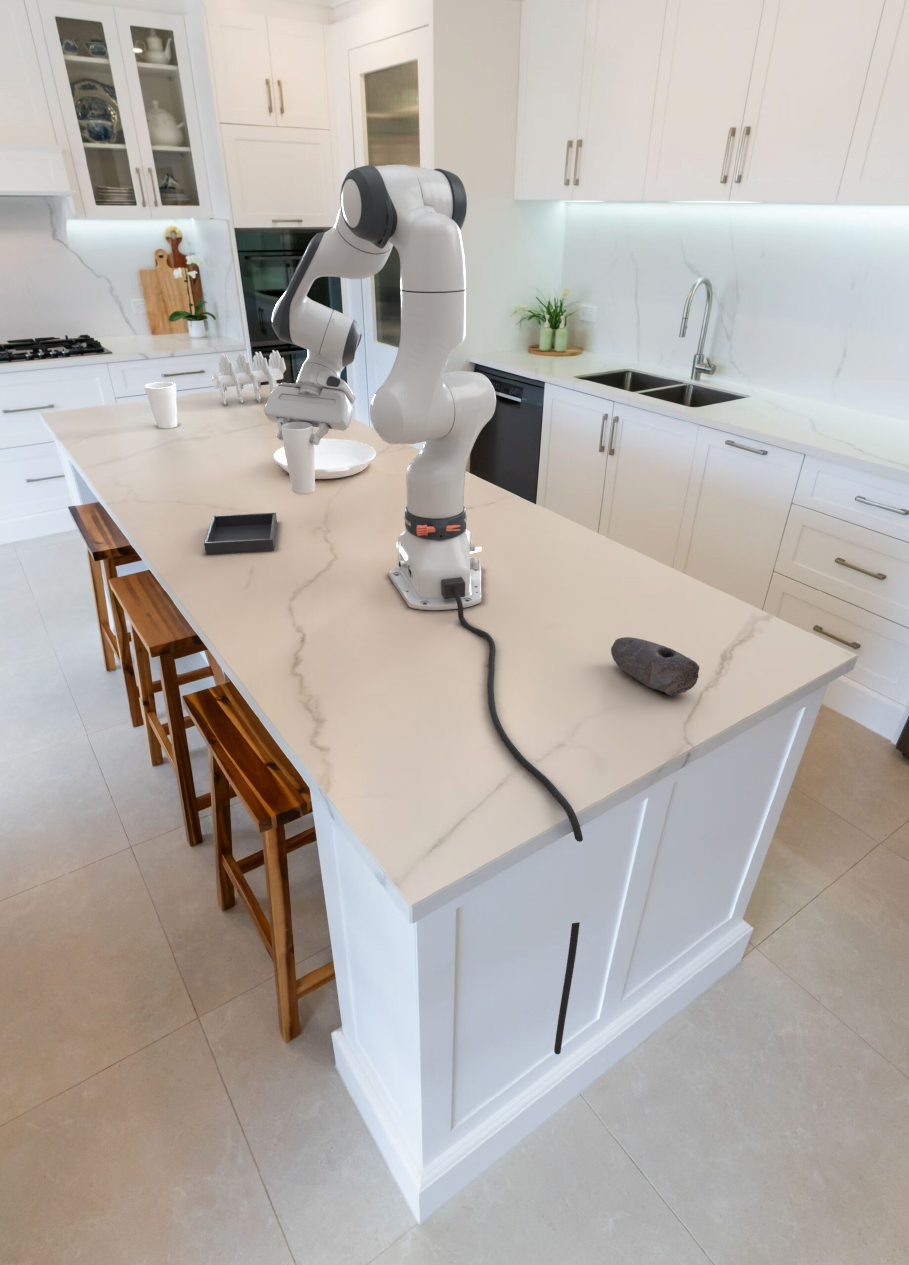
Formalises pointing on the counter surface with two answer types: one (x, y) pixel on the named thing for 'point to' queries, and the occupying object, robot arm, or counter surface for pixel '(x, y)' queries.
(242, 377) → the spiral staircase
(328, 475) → the pan
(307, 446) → the white tall cup
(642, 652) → the perforated stone tool
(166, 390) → the foam cup
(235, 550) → the baking tray
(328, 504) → the counter surface
